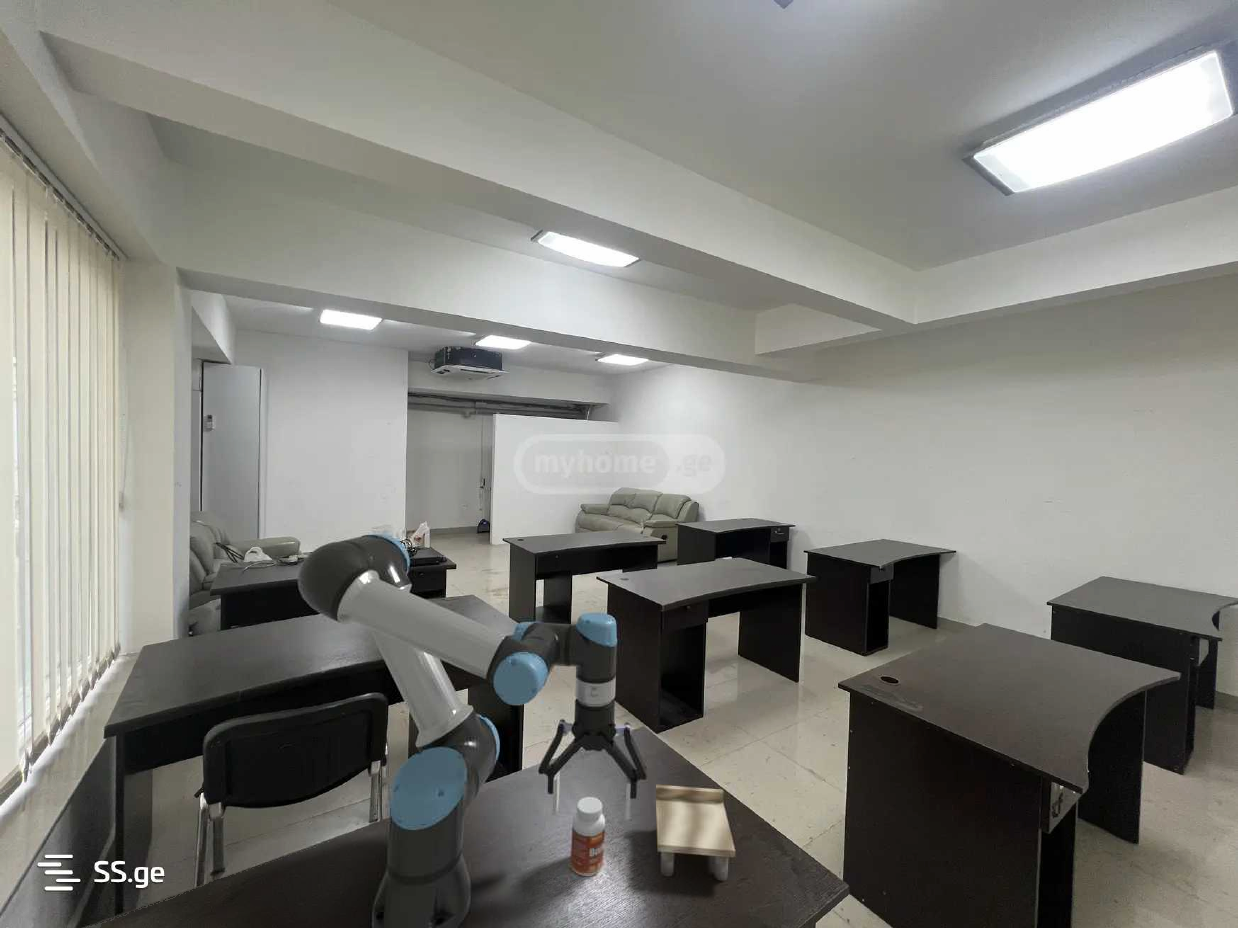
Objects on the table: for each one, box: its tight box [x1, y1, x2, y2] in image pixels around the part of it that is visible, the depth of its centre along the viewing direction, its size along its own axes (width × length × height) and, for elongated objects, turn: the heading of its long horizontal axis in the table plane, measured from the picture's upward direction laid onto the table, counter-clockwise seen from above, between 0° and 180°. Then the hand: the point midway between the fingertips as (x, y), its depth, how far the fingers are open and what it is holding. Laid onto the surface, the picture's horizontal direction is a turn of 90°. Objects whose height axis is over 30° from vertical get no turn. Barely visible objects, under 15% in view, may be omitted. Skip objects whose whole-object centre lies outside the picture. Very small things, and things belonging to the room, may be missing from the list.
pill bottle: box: [570, 796, 606, 877], centre depth 92 cm, size 6×6×11 cm
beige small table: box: [655, 784, 736, 882], centre depth 96 cm, size 14×14×8 cm
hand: (591, 812), depth 92 cm, fingers open, 13 cm apart
